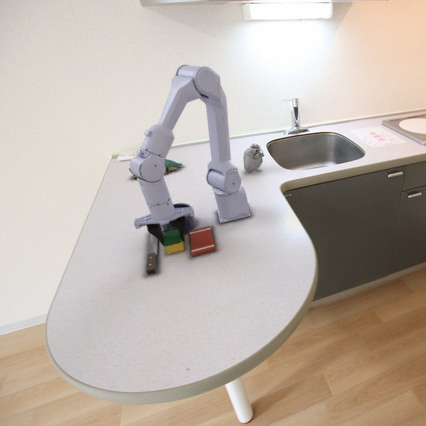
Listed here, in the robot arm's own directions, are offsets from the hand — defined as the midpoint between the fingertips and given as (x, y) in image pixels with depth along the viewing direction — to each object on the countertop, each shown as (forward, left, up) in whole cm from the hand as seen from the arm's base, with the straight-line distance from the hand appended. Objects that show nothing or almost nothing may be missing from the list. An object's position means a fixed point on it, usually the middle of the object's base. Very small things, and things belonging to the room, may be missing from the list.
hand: (174, 242), depth 87 cm
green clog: (+6, -58, -2) cm, 58 cm away
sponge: (0, 0, -1) cm, 1 cm away
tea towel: (-7, +1, -1) cm, 7 cm away
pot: (-1, -10, -1) cm, 10 cm away
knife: (+6, -1, -1) cm, 6 cm away
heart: (-31, -41, -2) cm, 51 cm away
